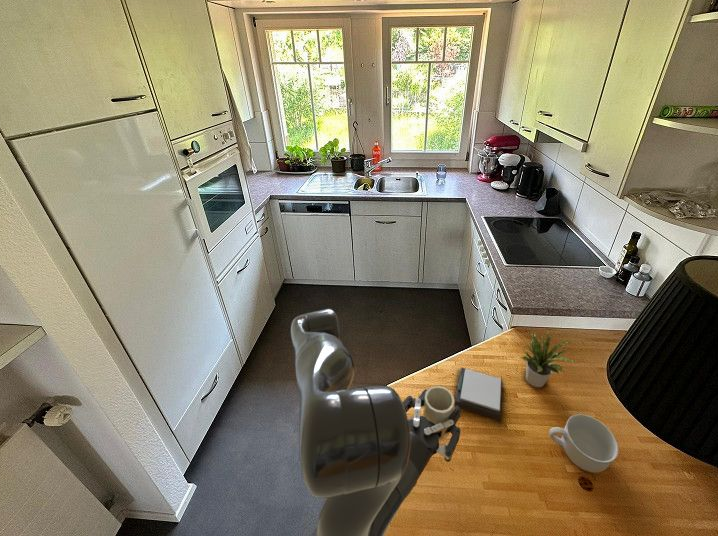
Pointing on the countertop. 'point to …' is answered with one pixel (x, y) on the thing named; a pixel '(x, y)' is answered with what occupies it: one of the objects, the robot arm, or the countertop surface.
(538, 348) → the house plant
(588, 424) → the teacup
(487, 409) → the scale
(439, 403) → the tumbler
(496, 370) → the countertop surface
